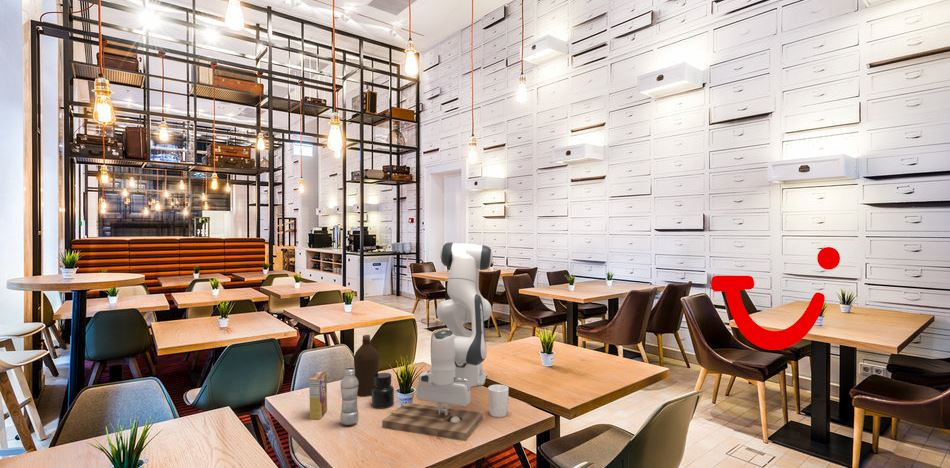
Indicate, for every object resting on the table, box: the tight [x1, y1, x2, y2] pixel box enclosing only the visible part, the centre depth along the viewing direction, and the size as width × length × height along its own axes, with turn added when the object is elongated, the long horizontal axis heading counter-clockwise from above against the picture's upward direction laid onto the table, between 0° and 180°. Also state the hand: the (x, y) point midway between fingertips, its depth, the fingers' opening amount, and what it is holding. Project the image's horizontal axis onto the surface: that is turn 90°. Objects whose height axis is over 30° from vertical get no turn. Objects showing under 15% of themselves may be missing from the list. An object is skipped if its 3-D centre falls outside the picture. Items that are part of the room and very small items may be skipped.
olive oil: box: [353, 334, 380, 397], centre depth 195 cm, size 11×11×25 cm
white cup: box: [487, 384, 509, 418], centre depth 172 cm, size 8×8×10 cm
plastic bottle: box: [339, 367, 360, 426], centre depth 163 cm, size 6×7×20 cm
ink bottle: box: [371, 372, 395, 409], centre depth 181 cm, size 10×9×12 cm
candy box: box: [308, 371, 328, 421], centre depth 171 cm, size 9×4×15 cm, turn 2°
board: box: [381, 402, 484, 441], centre depth 163 cm, size 32×18×4 cm, turn 71°
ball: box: [450, 416, 460, 423], centre depth 160 cm, size 4×4×4 cm
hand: (443, 414), depth 162 cm, fingers closed
